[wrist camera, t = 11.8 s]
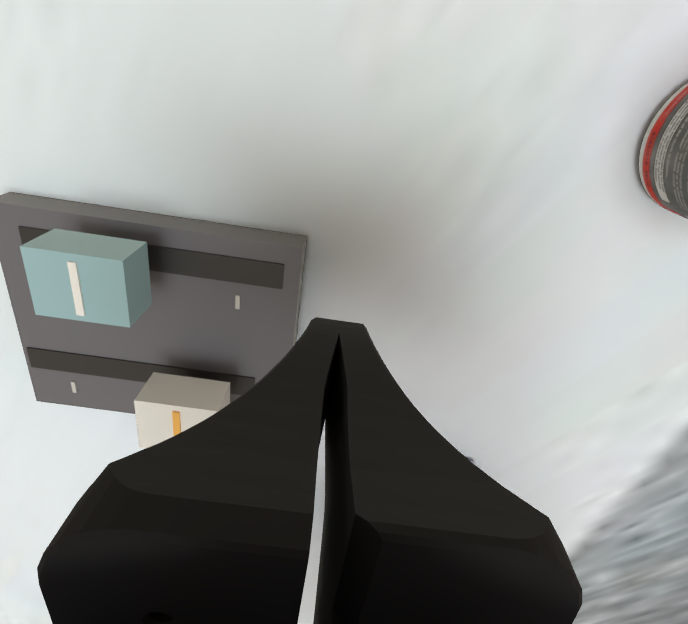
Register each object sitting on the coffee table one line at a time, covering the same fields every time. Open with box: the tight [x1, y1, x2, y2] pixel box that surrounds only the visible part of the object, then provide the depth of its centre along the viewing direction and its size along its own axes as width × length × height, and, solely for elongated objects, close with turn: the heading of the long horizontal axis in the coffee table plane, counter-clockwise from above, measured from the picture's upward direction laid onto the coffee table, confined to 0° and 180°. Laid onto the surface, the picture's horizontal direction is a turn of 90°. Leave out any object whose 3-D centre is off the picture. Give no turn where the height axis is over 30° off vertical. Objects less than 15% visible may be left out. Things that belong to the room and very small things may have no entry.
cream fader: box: [134, 372, 230, 448], centre depth 21 cm, size 3×4×3 cm
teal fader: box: [20, 229, 152, 328], centre depth 17 cm, size 3×4×3 cm
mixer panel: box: [0, 192, 307, 414], centre depth 22 cm, size 11×14×2 cm
